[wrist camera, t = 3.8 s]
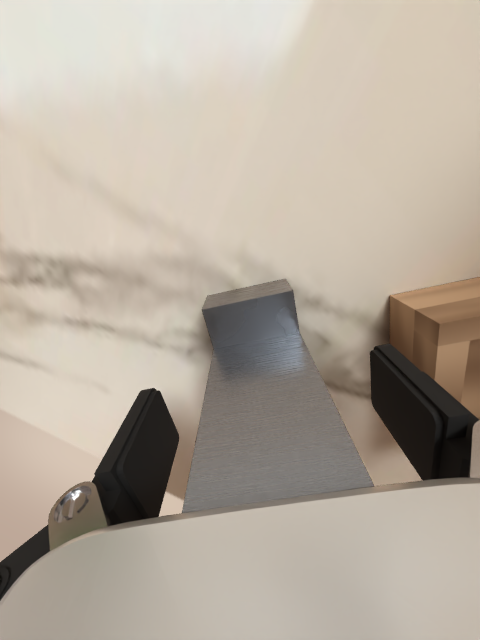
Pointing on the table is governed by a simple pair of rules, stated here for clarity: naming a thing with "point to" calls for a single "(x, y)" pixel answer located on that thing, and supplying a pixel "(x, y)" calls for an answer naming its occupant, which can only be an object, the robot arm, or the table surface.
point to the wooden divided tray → (442, 336)
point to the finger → (265, 409)
